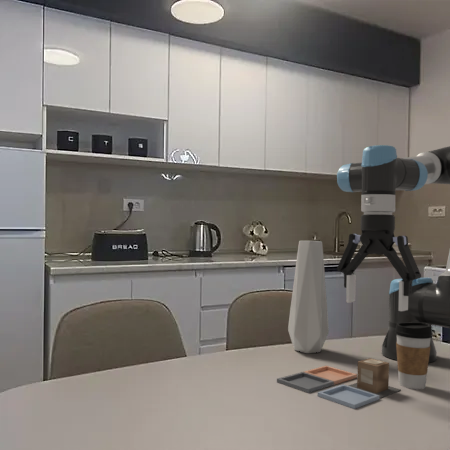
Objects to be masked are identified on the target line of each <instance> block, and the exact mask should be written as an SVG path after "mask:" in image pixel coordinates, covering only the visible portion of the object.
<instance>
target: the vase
mask: <svg viewBox="0 0 450 450" xmlns="http://www.w3.org/2000/svg"><path fill="white" fill-rule="evenodd" d="M323 246H324V245H323V241H321V240H305V239H304V240H299V241H298V247H297V253H296V260H295V261H296V262H295V270H294V277H293V284H292V285H293V287H292V294H291V302H290V308H289V316H288V317H289V318H288V327H287V330H288V334H289V338H290V341H291V344H292V346H293V350H294V351H295V352H296V351H297V352H299V351H300V353H305V354H315V353H316V352H317V353H321V352H322V349H323V346H324V345H325V343H326V341H327V337H328V335H329V331H330V329H329V317H328V302H327V287H326V275H325V274H326V273H325V264H324V263H325V261H324V248H323ZM317 353H316V354H317Z"/></svg>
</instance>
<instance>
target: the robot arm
mask: <svg viewBox="0 0 450 450" xmlns="http://www.w3.org/2000/svg"><path fill="white" fill-rule="evenodd" d="M361 158H362V159H361V162H352V163H351V162H350V163H346V164H343V165H341V166H340V167H339V168H338V171H337V173H336V178H337V179H336V180H337V181H336V183H337V185H338V187H339V189H340V190H341V191H343V192H345V193H346V192H347V193H357V192H358V193H360V192H361V197H360V198H361V200H360V201H361V203H360V205H361V206H360V208H361V209H360V211H361V212H362V213H363V214H361V216H360V230H361V234H358V233H350V234H349V236H348V241H347V242H348V243H347V245H346V247H345V249H344V251H343V254H342V255H341V258H340V261H339V263H338V264H337V267H336V270H337V272H340V273H342V274H343V286H344V289H346V290H345V291H346V292H345V296H346V298H345V302H346V304H347V303H348V304H350V303H355V302H356V296H357V295H356V290H357V289H356V288H357V286H356V284H357V283H356V282H357V280H356V278H357V275H356V274H355V272H356V270H357V269H358V267H359V266H360V265H361V263H362V262H363V261H364V260H365V258H367V256H368V255H377V256H378V255H380V256H381V255H384V257H385V258H387V260H388V261H389V262H390V264H391V265H392V266H393V268H394V269H395V271H396V273H397V274H398V275H399V277H400V278H396V279H395V278H394V279H393V280H391V282H390V284H389V292H388V295H389V298H388V301H389V302H388V303H389V304H388V306H389V307H388V328H387V332H386V335H385V336H384V340H383V341H382V345H381V355H382V356H384V357H386V358H387V359H392V360H394V361H397V349H396V342H397V335H396V334H395V329H396V324H397V323H405V322H421V323H428V324H431V325H432V326H437V327H442V328H447V329H450V249H449V251H448V257H447V262H446V266H445V267H446V268H445V271H444V272H442V273H440V274H439V275H438V276H437V281H436V283H434V280H433V278H432V277H422V273H421V272H420V270H419V267H418V265H417V263H416V260H415V258H414V256H413V253H412V250H411V249H410V246H409V238H408V236H407V235H398V236H396V235H395V234H394V233H395V229H396V227H395V226H396V216H395V215H394V214H393V213H395V212H396V191H405V192H411V191H412V192H413V191H417V190H421V189H422V188H423V187H424V186H425V185H432V184H434V185H435V184H438V185H439V184H440V185H450V146H445V147H442V148H441V147H440V148H437V149H433V150H430V151H424V152H420V153H418V154H417V155H416V156H409V157H398V155H397V149H396V147H395V146H394V145H389V144H386V145H384V144H381V145H380V144H379V145H377V144H376V145H370V146H367V147H365V148H364V149H363V150H362V157H361ZM359 243H361V244H362V245H361V246H360V248H359V249H358V250H357V248H358V246H359ZM394 245H396V246H397V248H398V251H399V253H400V256H401V257H399V255H398V252H397V250H396V249H395V248H394ZM356 250H357V252H356ZM355 253H356V254H355ZM354 254H355V255H354ZM401 258H402V259H401ZM430 346H431V347H430V355H429V362H428V363H432V362H435V361H437V349H436V346H435V343H434V339H433V337H432V338H431V339H430Z"/></svg>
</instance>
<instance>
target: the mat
mask: <svg viewBox="0 0 450 450" xmlns="http://www.w3.org/2000/svg"><path fill="white" fill-rule="evenodd" d="M348 386H350V387H354V388H357V382H355V383H352V384H348ZM357 389H360V388H357ZM360 390H363V391H367V390H364V389H360ZM367 392H370V391H367ZM398 392H401V389H400V388H396V387H393V386H390V385H388V389H387V390H384V391H381V392H379V393H373V392H370V393H373V394H376V395H379V400H380V399H382V398H386V397H388V396H390V395H393V394H395V393H398Z"/></svg>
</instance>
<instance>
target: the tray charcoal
mask: <svg viewBox="0 0 450 450" xmlns="http://www.w3.org/2000/svg"><path fill="white" fill-rule="evenodd" d="M276 383H278V384H281V385H284V386H287V387H289V388H293V389H296V390H298V391H301V392H304V393H306V394H309V393H313V392H316V391H319V390H323V389H325V388H328V387H333V386H335V385H334V381H331V380H328V379H324V378H321V377H318V376H315V375H311V374H308V373H305V372H304V371H300V372H297V373H293V374H289V375H286V376H282V377H278V378H276Z"/></svg>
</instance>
